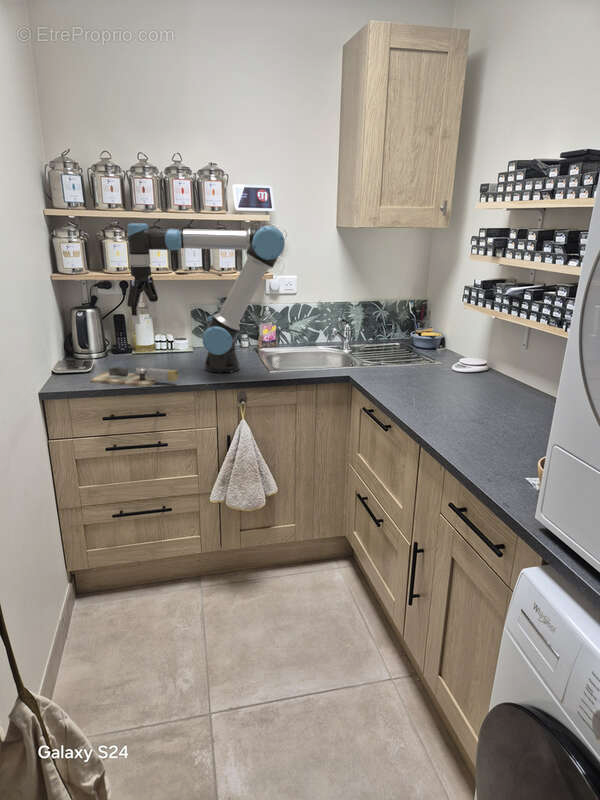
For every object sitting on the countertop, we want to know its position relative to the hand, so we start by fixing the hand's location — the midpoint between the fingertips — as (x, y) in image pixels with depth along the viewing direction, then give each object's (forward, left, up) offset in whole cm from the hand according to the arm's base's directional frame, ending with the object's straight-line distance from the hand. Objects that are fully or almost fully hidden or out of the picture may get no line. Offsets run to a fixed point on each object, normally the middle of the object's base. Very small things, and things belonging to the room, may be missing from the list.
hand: (144, 320), depth 215 cm
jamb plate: (-2, +10, -22) cm, 24 cm away
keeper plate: (+10, +9, -22) cm, 26 cm away
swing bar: (-8, +10, -20) cm, 24 cm away
